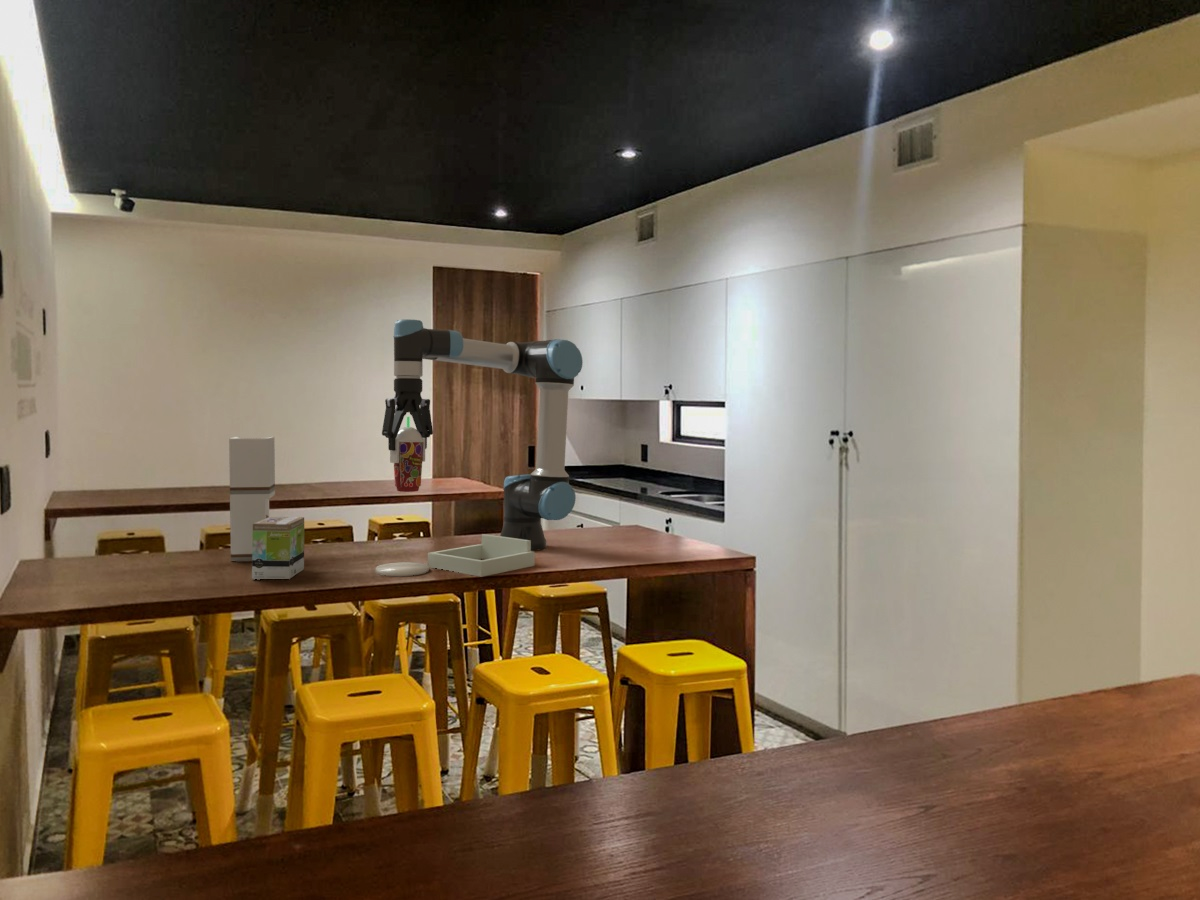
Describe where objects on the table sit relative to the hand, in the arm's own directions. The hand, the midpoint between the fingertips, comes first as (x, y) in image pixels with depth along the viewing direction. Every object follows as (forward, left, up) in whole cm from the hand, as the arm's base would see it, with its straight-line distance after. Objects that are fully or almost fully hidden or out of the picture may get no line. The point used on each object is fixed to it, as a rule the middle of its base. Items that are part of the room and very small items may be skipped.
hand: (407, 461), depth 249 cm
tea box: (+25, -22, -30) cm, 45 cm away
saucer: (+1, -1, -30) cm, 30 cm away
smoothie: (0, 0, -8) cm, 8 cm away
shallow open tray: (-18, +10, -30) cm, 36 cm away
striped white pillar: (+15, -50, -30) cm, 60 cm away
